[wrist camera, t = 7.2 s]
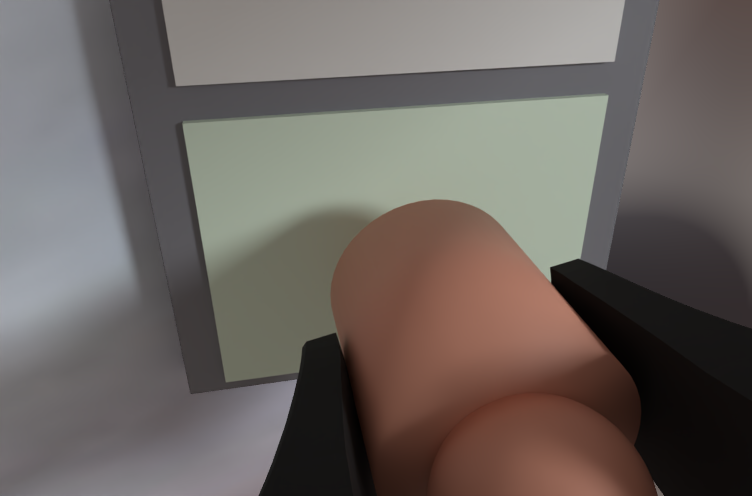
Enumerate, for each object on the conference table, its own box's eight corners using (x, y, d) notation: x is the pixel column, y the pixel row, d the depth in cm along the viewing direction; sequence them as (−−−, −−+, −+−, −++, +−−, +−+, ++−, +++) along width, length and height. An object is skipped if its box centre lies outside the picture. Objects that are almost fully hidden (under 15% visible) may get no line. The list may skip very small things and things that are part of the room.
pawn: (506, 174, 13) (785, 439, 6) (525, 333, 15) (747, 651, 8) (307, 233, 13) (382, 573, 6) (356, 386, 15) (449, 756, 8)
